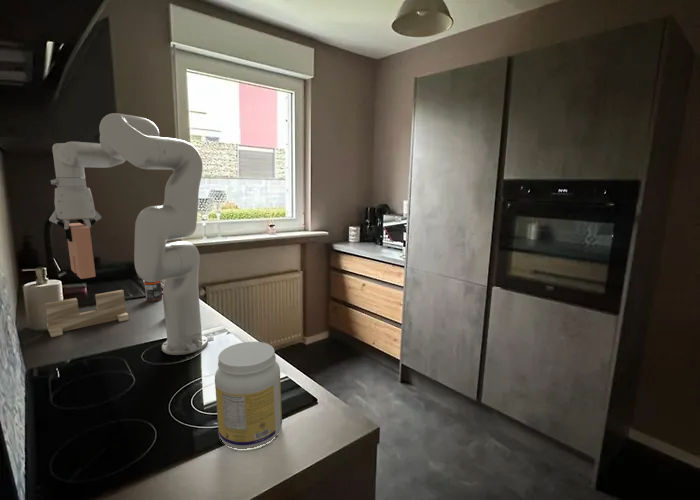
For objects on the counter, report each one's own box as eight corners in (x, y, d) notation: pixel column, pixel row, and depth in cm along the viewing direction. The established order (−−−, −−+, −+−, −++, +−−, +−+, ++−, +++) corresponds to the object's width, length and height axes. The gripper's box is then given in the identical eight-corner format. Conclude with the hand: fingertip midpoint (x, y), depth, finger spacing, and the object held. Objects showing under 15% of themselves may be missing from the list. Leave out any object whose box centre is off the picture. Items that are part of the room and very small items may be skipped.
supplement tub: (237, 410, 82) (232, 337, 79) (291, 417, 80) (288, 341, 77) (205, 449, 70) (199, 365, 67) (268, 458, 68) (264, 371, 65)
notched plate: (95, 276, 122) (89, 227, 119) (80, 278, 120) (74, 228, 117) (85, 268, 134) (79, 222, 131) (71, 270, 131) (65, 223, 128)
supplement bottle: (154, 297, 161) (151, 271, 159) (165, 298, 159) (163, 272, 157) (142, 301, 156) (140, 274, 153) (154, 302, 154) (151, 275, 152)
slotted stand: (129, 319, 135) (126, 292, 133) (51, 337, 120) (46, 307, 118) (122, 314, 141) (119, 287, 139) (47, 330, 126) (43, 301, 124)
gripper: (39, 184, 113) (48, 244, 116) (105, 183, 124) (111, 239, 128) (36, 183, 118) (45, 241, 121) (99, 183, 130) (105, 236, 133)
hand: (78, 239), depth 125 cm, fingers closed on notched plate, 4 cm apart
